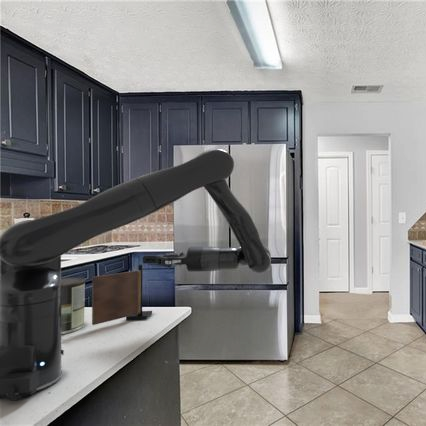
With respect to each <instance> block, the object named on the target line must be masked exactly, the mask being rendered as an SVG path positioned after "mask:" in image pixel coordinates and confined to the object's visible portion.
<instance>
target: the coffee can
mask: <svg viewBox="0 0 426 426" xmlns="http://www.w3.org/2000/svg"><path fill="white" fill-rule="evenodd" d="M61 281H62V303H61V335H66V334H70V333H73V332H76V331H78V330H80V329H82V328H84V327H85V325H86V323H85V306H86V305H85V301H86V299H85V298H86V296H85V293H86V278H84V277H61Z"/></svg>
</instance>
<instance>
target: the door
mask: <svg viewBox="0 0 426 426" xmlns="http://www.w3.org/2000/svg"><path fill="white" fill-rule="evenodd" d="M91 295H92V296H91V325H92V326H95V325H100V324H103V323H107V322H111V321H115V320H121V319H125V318H126V317H128V316H132V315H136V314H140V301H141V270H138V269H137V270H131V271H124V272H119V273H118V272H117V273H116V272H115V273H110V274H109V273H108V274H103V275H96V276H92V277H91Z"/></svg>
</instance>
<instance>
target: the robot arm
mask: <svg viewBox="0 0 426 426" xmlns="http://www.w3.org/2000/svg"><path fill="white" fill-rule="evenodd" d="M234 167H235V161H234V158H233V156H232V155H231V154H230V153H229V152H227V151H226V150H224V149H222V148H221V149H220V148H210V149H207V150H205V151H203V152H202V153H200V154H198V155H196V156H195V157H193V158H191V159H189V160H188V161H186V162H184V163H181V164H178V165H175V166H171V167H167V168H163V169H160V170H156V171H152V172H150V173H146V174H143V175H140V176H137V177H134V178H131V179H129V180H126V181H124V182H121V183H119V184H117V185H114V186H112V187H110V188H108V189H106V190H104V191H102V192H100V193H97V194H96V195H95V196H93V197H90V198H89V199H87V200H86V201H84V202H82V203H80V204H78V205H75V206H73V207H71V208H68V209H65V210H62V211H59V212H55V213H52V214H49V215H45V216H43V217H39V218H34V219H27V220H22V221H18V222H16V223H14V224H12V225H10V226H9V227H7V228H6V229H5V230H4V231H2V233H1V234H0V399H2V398H3V399H4V398H7V399H8V400H9V401H20V400H21V399H22V398H23V397H27V396H28V397H29V396H33V395H34V394H35V393H37V392H39V391H41V390H44V389H46V388H48V387H50V386H52V385H53V384H56V383H57V382H58V381H59V380H60V379H61V378H62V377H63V370H62V356H64V353H65V352H64V350H63V349H62V334H61V303H62V281H61V278H62V256H63V255H64V254H65V255H66V253H68V252H70V251H71V250H73V249H75V248H77V247H78V246H81V245H82V244H84V243H86V242H88V241H90V240H92V239H94V238H96V237H98V236H101V235H103V234H106V233H108V232H111V231H114V230H116V229H119V228H122V227H124V226H127V225H129V224H131V223H134V222H136V221H139V220H141V219H145V217H148V216H150V215H152V214H154V213H156V212H158V211H160V210H162V209H164V208H166V207H168V206H170V205H172V204H173V203H175V202H177V201H178V200H180V199H182V198H184V196H187V195H188V194H190V193H192V192H194V191H196V190H198V189H201V188H204V189H205V190H206V192H207V194H209V196H210V198H211V199H212V200H213V202H214V203H215V205H216V206H217V208H218V210H219V211H220V212H221V214H222V216H223V218H224V219H225V221H226V223H227V224H228V227H229V228H230V230H231V232H232V234H233V236H234V238H235V239H236V241H237V243H238V244H239V246H238V247H221V246H219V247H218V246H190V247H189V246H188V249H187V251H186V253H184V251H178V252H167V253H166V252H165V253H160V254H146V255H144V256H143V257H142V263H143V264H156V266H159V267H167V268H172V267H176V268H180V267H182V266H183V265H185V266H186V270H187V271H188V272H216V271H234V270H238V269H239V268H240V267H243V266H247V267H248V268H249V269H250V270H251V271H252V272H253V273H255V274H263V273H265V272H267V271H268V270H269V268H270V266H271V263H272V255H271V250H270V248H268V246H266V245H264V244H263V242H262V239H261V235H260V232H259V230H258V228H257V226H256V223H255V222H254V219H253V218H252V216H251V214H250V213H249V211H248V210H247V209H246V207H245V206H244V205H243V204H242V203H241V202H240V201H239V199H238V198H237V197H236V196H235V195H234V193H233V192H232V190H231V188H230V186H229V185H228V182H227V179H228V178H229V177H230V176H231V175H232V173H233V172H234Z"/></svg>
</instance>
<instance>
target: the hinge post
mask: <svg viewBox="0 0 426 426" xmlns="http://www.w3.org/2000/svg"><path fill="white" fill-rule="evenodd" d="M137 267H138V268H137V270H141V301H140V314H136V315H132V316H128V317H125V321H145V320H148V319H149V318H150V317H151V316H152V315H153V310H143V281H144V280H143V278H144V277H143V267H144V265H143V264H138V266H137Z"/></svg>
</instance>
